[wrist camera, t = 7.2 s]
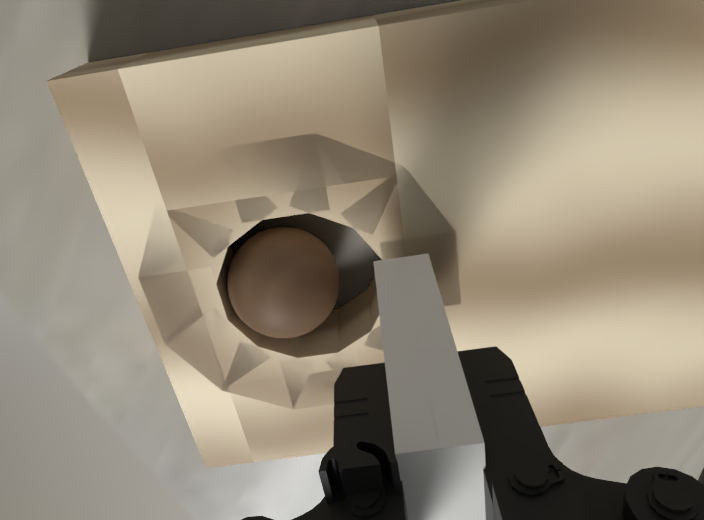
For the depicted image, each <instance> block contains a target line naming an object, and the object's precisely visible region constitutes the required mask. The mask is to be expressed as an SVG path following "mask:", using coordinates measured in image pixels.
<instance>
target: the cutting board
mask: <svg viewBox="0 0 704 520" xmlns="http://www.w3.org/2000/svg"><path fill="white" fill-rule="evenodd" d="M47 83H48V85H49V88H50V90H51V93H52V95H53V98H54V100H55V102H56V105H57V107H58V110H59V112H60V115H61V117H62V119H63V122H64V124H65V127H66V129H67V131H68V134H69V136H70V139H71V141H72V144H73V146H74V148H75V151H76V153H77V156H78V158H79V161H80V163H81V165H82V168H83V170H84V173H85V175H86V178H87V180H88V182H89V185H90V187H91V190H92V192H93V195H94V197H95V199H96V202H97V204H98V207H99V209H100V211H101V214H102V216H103V219H104V221H105V224H106V226H107V228H108V231H109V233H110V236H111V238H112V241H113V243H114V245H115V248H116V250H117V253H118V255H119V258H120V260H121V262H122V265H123V267H124V270H125V272H126V275H127V277H128V279H129V282H130V284H131V287H132V289H133V292H134V294H135V296H136V299H137V301H138V304H139V306H140V308H141V311H142V313H143V316H144V318H145V321H146V323H147V325H148V328H149V330H150V333H151V335H152V338H153V340H154V342H155V345H156V347H157V350H158V352H159V355H160V357H161V359H162V362H163V364H164V367H165V369H166V372H167V374H168V376H169V379H170V381H171V384H172V386H173V388H174V391H175V393H176V396H177V398H178V401H179V403H180V405H181V408H182V410H183V413H184V415H185V418H186V420H187V422H188V425H189V427H190V430H191V432H192V435H193V437H194V439H195V442H196V444H197V447H198V449H199V452H200V454H201V456H202V459H203V461H204V464H205V466H206V468H209V467H218V466H226V465H234V464H242V463H250V462H258V461H266V460H274V459H282V458H290V457H298V456H306V455H314V454H323V453H327V452H328V451H329V449H330V448H332V447H333V442H334V384H335V382H336V380H337V378H338V376H339V375H340V373H341V371H342V369H343V368H347V367H354V366H362V365H369V364H377V363H384V362H385V360H384V351H383V342H382V333H381V324H380V316H379V307H378V298H377V289H376V280H375V274H374V276H373V278H372V280H371V282H370V285H369V287H368V289H366V290H365V291H364V292H362V293H361V294H359V295H358V296H356V297H355V298H353V299H352V300H350V301H349V302H347V303H346V304H344V305H343V306H342V307H340V308H339V309H333V310H332V311H331V313H330V315H329V316H328V317H327V318H326V319H325V321H324V322H323V323H321V324H320V325H319V326H318V327H316V328H315V329H314V330H312V331H310V332H308V333H306V334H304V335H301V336H297V337H293V338H274V337H269V336H265V335H263V334H261V333H259V332H256V331H255V330H253V329H252V328H250V327H249V326H247V325H246V324H245V323H244V322H243V321H242V320H241V319H240V317H239V316H238V315H237V313H236V312H235V310H234V308H233V306H232V304H231V301H230V298H229V294H228V286H227V280H228V272H229V267H230V264H231V262H232V260H233V257H234V255H233V252H232V248H231V244H232V243H233V242H235V241H236V240H237V239H238V238H240V237H241V236H242V235H244V234H245V233H246V232H247V231H249V230H250V229H251V228H253V227H254V226H255V225H256V224H258V223H259V222H260V221H261V220H265V219H272V218H279V217H286V216H292V215H299V214H306V213H311V214H314V215H317V216H319V217H322V218H325V219H328V220H331V221H334V222H337V223H340V224H343V225H346V226H349V227H352V228H354V229H355V230H356V231H357V232H358V233H359V235H360V236H361V237H362V238H363V239H364V240H365V241H366V242H367V244H368V245H369V246H370V247H371V248H372V249H373V250H374V251H375V253H376V254H377V255H378V256H379V257H380V258H381V260H386V259H393V258H400V257H407V256H414V255H421V254H429V257H430V261H431V264H432V268H433V271H434V274H435V278H436V281H437V284H438V288H439V291H440V295H441V298H442V301H443V305H444V308H445V311H446V315H447V318H448V321H449V325H450V328H451V332H452V335H453V338H454V342H455V345H456V348H457V351H464V350H472V349H479V348H487V347H495V346H497V347H498V348H499V349H500V350H501V351H502V352H503V353H505V354H506V355H507V356H508V357H509V358H510V359H511V360H512V362H513V364H514V366H515V369H516V371H517V373H518V376H519V380H520V381H521V383H522V385H523V388H524V390H525V394H526V395H527V397H528V399H529V402H530V404H531V406H532V409H533V411H534V414H535V416H536V418H537V421H538V423H539V425H540V427H541V426H549V425H557V424H565V423H573V422H581V421H589V420H597V419H605V418H613V417H621V416H629V415H638V414H646V413H654V412H662V411H670V410H678V409H686V408H694V407H702V406H704V0H460V1H454V2H448V3H442V4H436V5H430V6H424V7H418V8H412V9H406V10H400V11H394V12H388V13H382V14H376V15H370V16H364V17H358V18H352V19H346V20H340V21H334V22H328V23H322V24H316V25H311V26H305V27H299V28H293V29H287V30H281V31H275V32H269V33H263V34H257V35H251V36H245V37H239V38H233V39H227V40H221V41H215V42H209V43H203V44H197V45H191V46H185V47H179V48H173V49H167V50H161V51H155V52H149V53H143V54H137V55H131V56H125V57H119V58H113V59H107V60H101V61H95V62H89V63H86V64H84V65H81V66H79V67H77V68H75V69H72V70H70V71H68V72H66V73H64V74H61V75H59V76H57V77H55V78H52V79H50V80H48V81H47Z"/></svg>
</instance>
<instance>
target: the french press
mask: <svg viewBox="0 0 704 520" xmlns="http://www.w3.org/2000/svg"><path fill="white" fill-rule="evenodd" d="M699 482H700V483H701V484H703V485H704V470H703V472H702V474H701V477H700V479H699Z"/></svg>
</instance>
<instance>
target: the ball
mask: <svg viewBox="0 0 704 520" xmlns="http://www.w3.org/2000/svg"><path fill="white" fill-rule="evenodd" d="M227 286H228V294H229V298H230V301H231V304H232V306H233V308H234V310H235V312H236V313H237V315H238V316H239V317H240V319H241V320H242V321H243V322H244V323H245V324H246V325H247V326H249V327H250V328H252V329H253V330H255V331H256V332H259V333H261V334H263V335H265V336H269V337H274V338H293V337H297V336H301V335H304V334H306V333H308V332H310V331H312V330H314V329H315V328H316V327H318V326H319V325H320V324H321V323H323V322H324V321H325V319H326V318H327V317H328V316H329V315H330V313H331V311H332V310H333V308H334V306H335V304H336V301H337V298H338V294H339V288H340V278H339V270H338V267H337V264H336V261H335V259H334V257H333V255H332V253H331V252H330V250H329V249H328V247H327V246H326V245H325V244H324V243H323V242H322V241H321V240H320V239H318V238H317V237H315V236H314V235H312V234H311V233H309V232H306V231H304V230H302V229H298V228H293V227H274V228H270V229H266V230H264V231H261V232H259V233H257V234H255V235H253V236H252V237H250V238H249V239H248V240H247V241H246V242H245V243H244V244H243V245H242V246H241V247H240V248H239V249H238V251H237V252H236V254H235V256H234V257H233V260H232V262H231V264H230V267H229V272H228V280H227Z"/></svg>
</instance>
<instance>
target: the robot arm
mask: <svg viewBox="0 0 704 520" xmlns="http://www.w3.org/2000/svg"><path fill="white" fill-rule="evenodd" d="M373 262H374V271H375V280H376V289H377V298H378V307H379V316H380V324H381V333H382V342H383V351H384V360H385V362H384V363H377V364H369V365H362V366H354V367H347V368H343V369H342V371H341V373H340V375H339V376H338V378H337V380H336V382H335V384H334V442H333V447H332V448H330V449H329V451H328V452H327V453H326V455H325V456H324V457H323V459H322V461H321V465H320V469H319V475H320V479H321V482H322V486H323V490H324V494H325V497H324V498H323V500H322V501H321V502H320V503H319V504H318V505H317V506H316V507H314V508H313V509H312V510H310V511H308V512H307V513H305V514H303V515H301V516H299V517H297V518H294V519H292V520H704V485H703V484H701V483H700V482H699V481H697V480H696V479H695V478H693V477H692V476H689V475H687V474H684V473H682V472H680V471H677V470H675V469H668V468H662V467H653V468H647V469H641V470H640V471H638V472H637V473H635V474H633V475H632V476H631V477H630V479H629V481H628V483H627V484H625V483H619V482H613V481H607V480H600V479H595V478H591V477H587V476H583V475H581V474H579V473H577V472H574V471H572V470H571V469H569V468H568V467H566V466H565V465H563V463H562V462H560V461H559V460H558V459H557V458H556V457H555V456H554V455H553V453H552V452H551V450H550V448H549V447H548V444H547V442H546V440H545V437H544V435H543V432H542V430H541V428H540V425H539V423H538V421H537V418H536V416H535V414H534V411H533V409H532V406H531V404H530V402H529V399H528V397H527V395H526V394H525V390H524V388H523V385H522V383H521V381H520V380H519V376H518V373H517V371H516V369H515V366H514V364H513V362H512V360H511V359H510V358H509V357H508V356H507V355H506V354H505V353H503V352H502V351H501V350H500V349H499V348H498V347H497V346H495V347H487V348H479V349H472V350H464V351H457V348H456V345H455V342H454V338H453V335H452V332H451V328H450V325H449V321H448V318H447V315H446V311H445V308H444V305H443V301H442V298H441V295H440V291H439V288H438V284H437V281H436V278H435V274H434V271H433V268H432V264H431V261H430V257H429V254H421V255H414V256H407V257H400V258H393V259H386V260H379V261H373ZM242 520H273V519H270V518H267V517H264V516H254V517H246V518H244V519H242Z"/></svg>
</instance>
